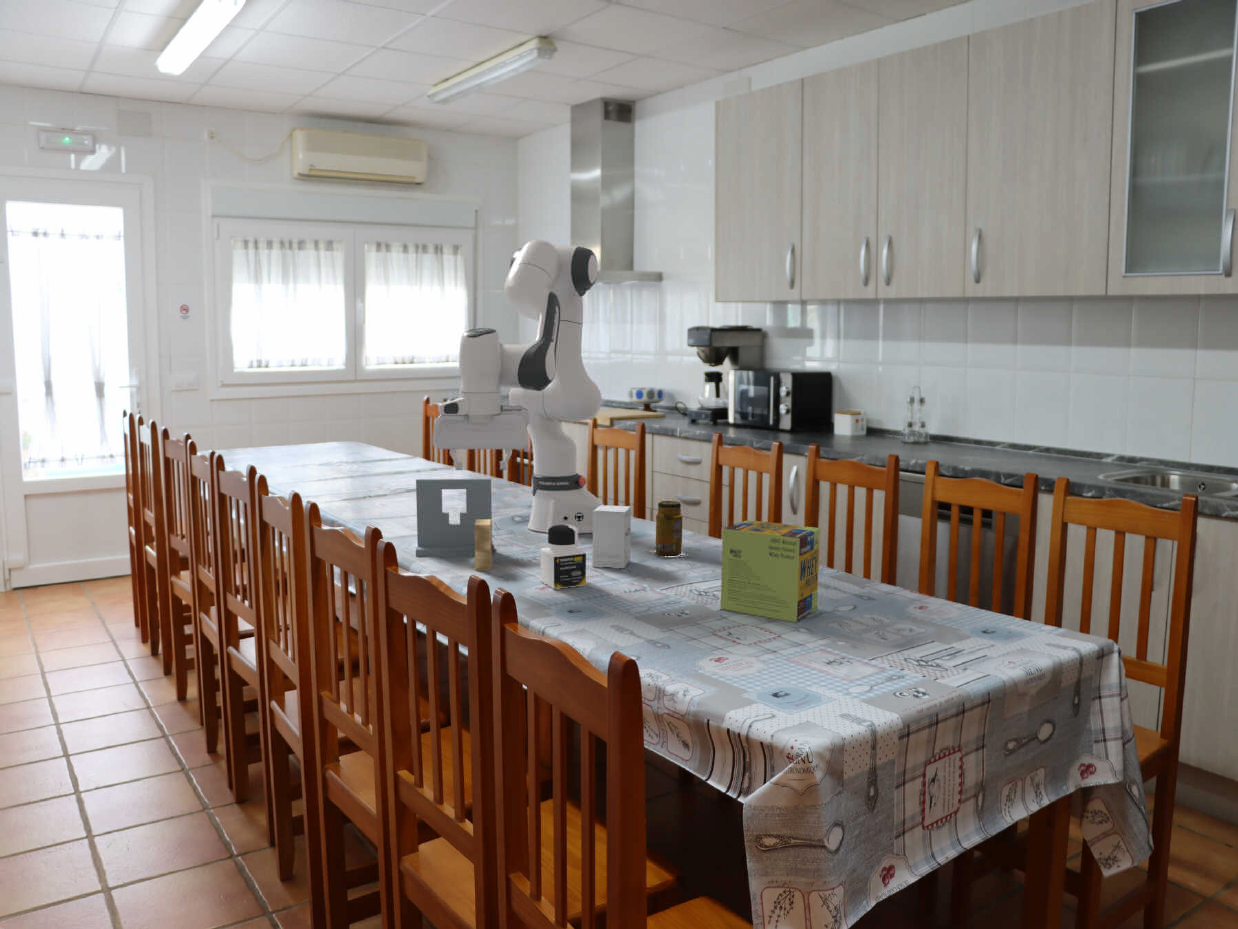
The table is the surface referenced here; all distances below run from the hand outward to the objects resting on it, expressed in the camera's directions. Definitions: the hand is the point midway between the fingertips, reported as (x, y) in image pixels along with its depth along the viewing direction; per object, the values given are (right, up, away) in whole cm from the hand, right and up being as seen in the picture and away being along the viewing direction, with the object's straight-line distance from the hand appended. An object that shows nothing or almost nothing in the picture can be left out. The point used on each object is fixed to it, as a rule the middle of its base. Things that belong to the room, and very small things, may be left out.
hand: (481, 469), depth 209 cm
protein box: (+58, -26, -27) cm, 69 cm away
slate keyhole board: (-8, -19, +17) cm, 27 cm away
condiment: (+41, -20, +16) cm, 48 cm away
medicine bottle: (+18, -23, -11) cm, 31 cm away
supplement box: (+28, -21, +6) cm, 36 cm away
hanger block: (0, -21, +5) cm, 21 cm away
